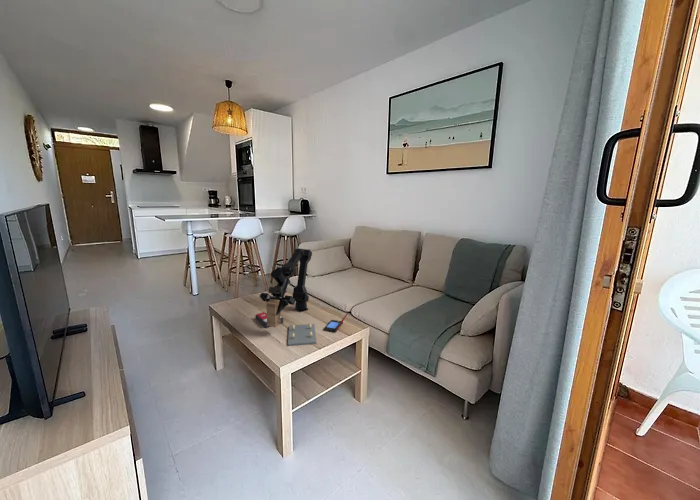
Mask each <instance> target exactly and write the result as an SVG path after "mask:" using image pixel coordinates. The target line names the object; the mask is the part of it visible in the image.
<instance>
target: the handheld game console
mask: <svg viewBox="0 0 700 500" xmlns="http://www.w3.org/2000/svg"><path fill="white" fill-rule="evenodd" d="M348 314H349V312H347V313H346V314H345V315H344V317H343V318H341V320H336V319H331V320H330V321H329V322H328V323H327V324H326V325H325V326H324V328H323V331H324V332H330V333H335V334H336V333H337V331H338V330H339V328H340V327H342V325H343V324H344V321H345V319H346V317H347V316H348Z"/></svg>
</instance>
